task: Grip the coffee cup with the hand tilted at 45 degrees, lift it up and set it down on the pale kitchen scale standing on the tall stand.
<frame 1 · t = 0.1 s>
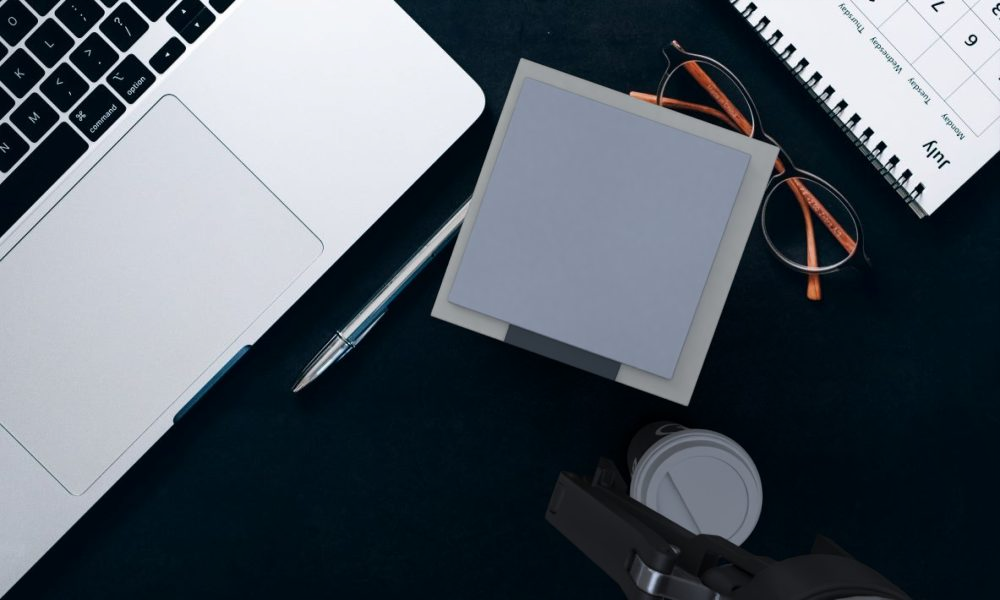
hand: (706, 518, 48), 24 cm above the table, tool pointing down, fingers open, 13 cm apart
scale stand: (567, 255, 72), on the table
scale: (599, 235, 44), resting on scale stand
coffee cup: (663, 456, 72), on the table
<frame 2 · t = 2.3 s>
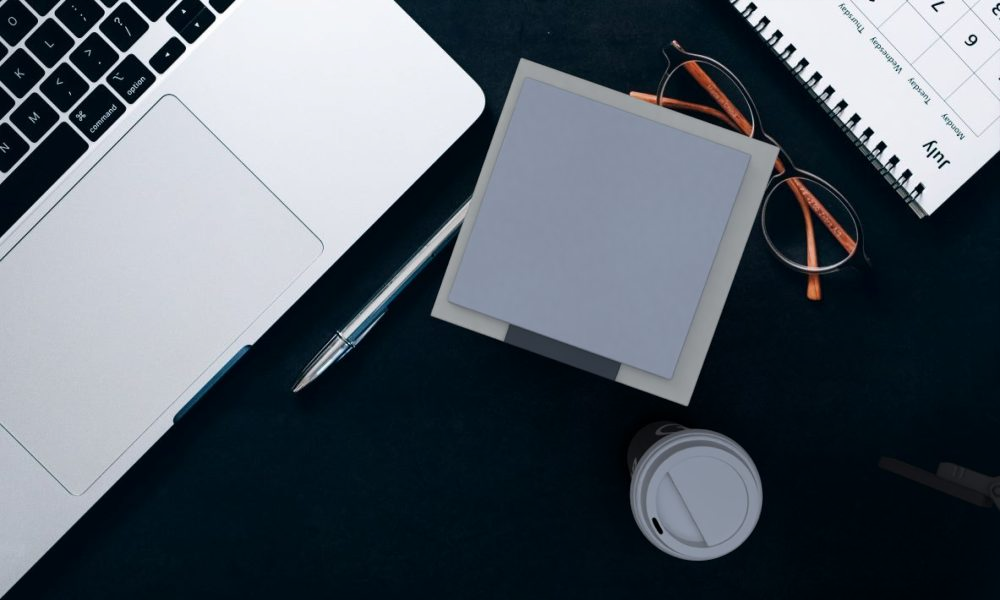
hand: (853, 553, 57), 15 cm above the table, tool tilted 45°, fingers open, 13 cm apart
nothing on the table moved.
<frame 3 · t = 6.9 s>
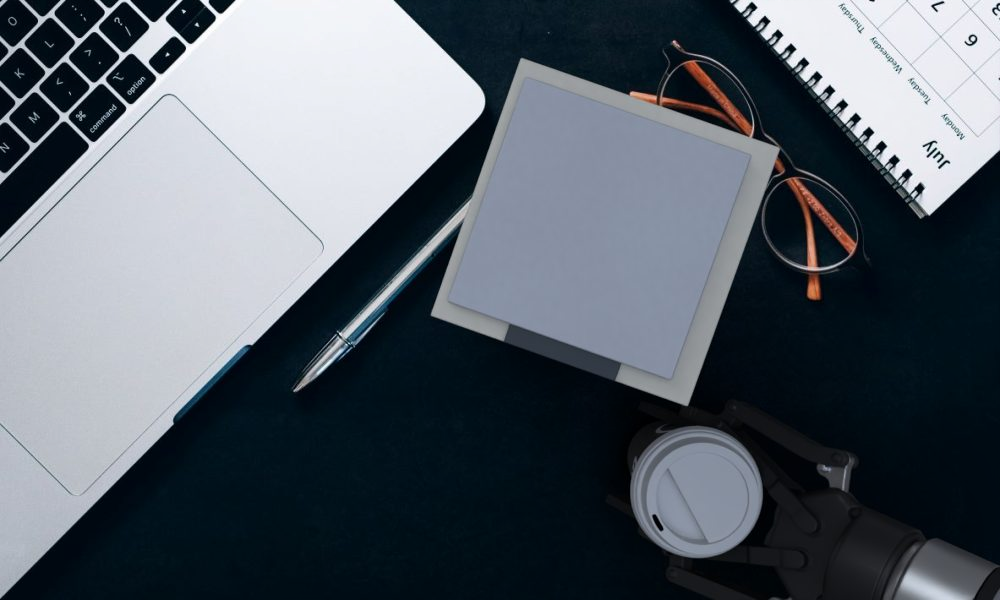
hand: (632, 453, 68), 4 cm above the table, tool tilted 45°, fingers closed on coffee cup, 7 cm apart
coffee cup: (663, 456, 72), on the table, touching gripper
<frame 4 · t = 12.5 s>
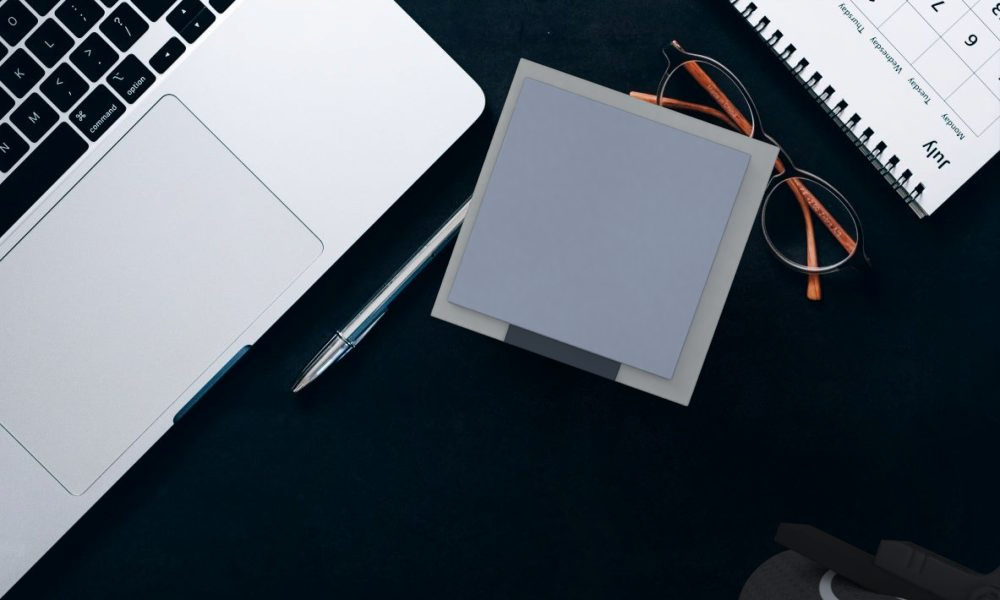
when the fingers open (35 cm above the table, at t = 18.1 s): coffee cup stays where it is, resting on scale.
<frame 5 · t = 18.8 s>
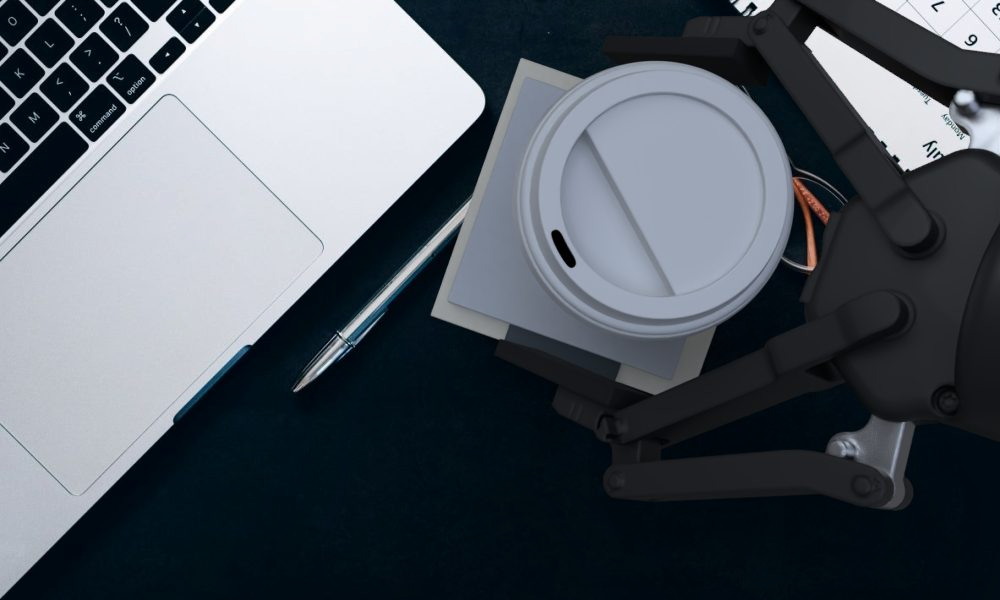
hand: (568, 205, 35), 36 cm above the table, tool tilted 45°, fingers open, 13 cm apart
coffee cup: (608, 229, 41), point 31 cm above the table, touching scale
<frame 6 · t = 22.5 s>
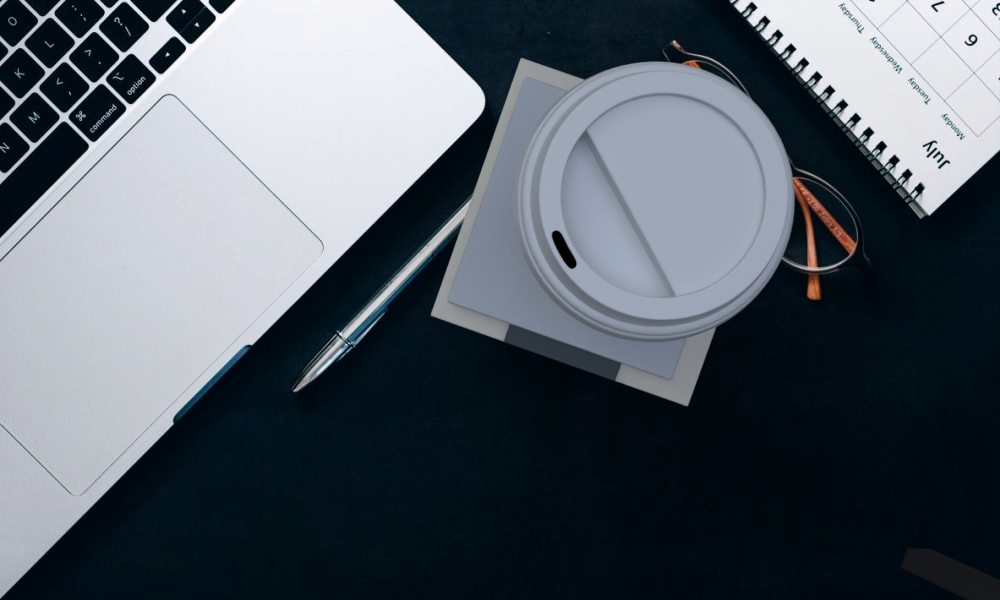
hand: (975, 386, 30), 41 cm above the table, tool tilted 45°, fingers open, 13 cm apart
nothing on the table moved.
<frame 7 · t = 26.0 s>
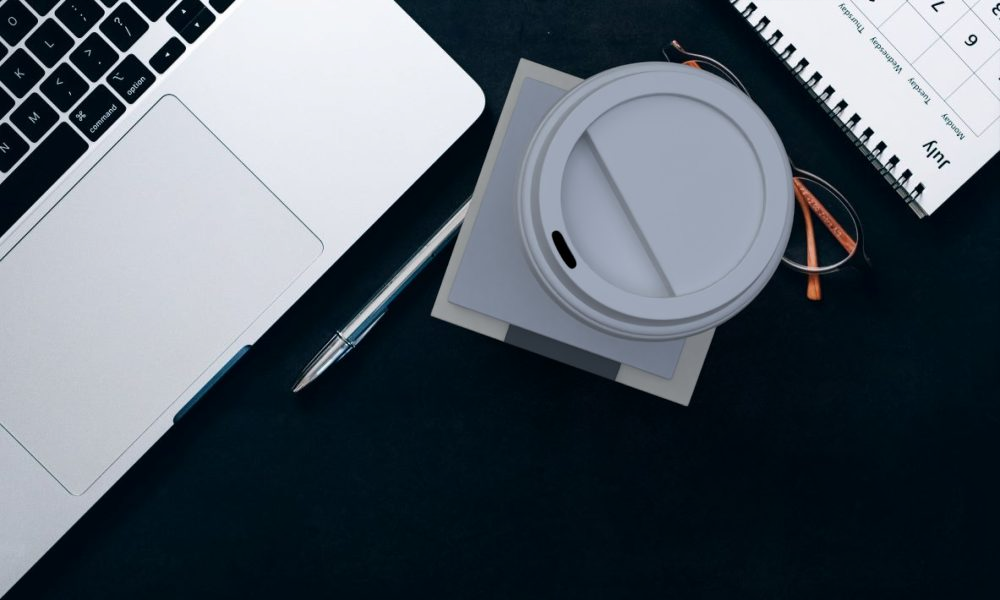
nothing on the table moved.
at the end: coffee cup inside the target area on the scale (0.6 cm from its centre), point 3.0 cm above the scale's base; coffee cup tilted 0°; the gripper is holding nothing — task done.
